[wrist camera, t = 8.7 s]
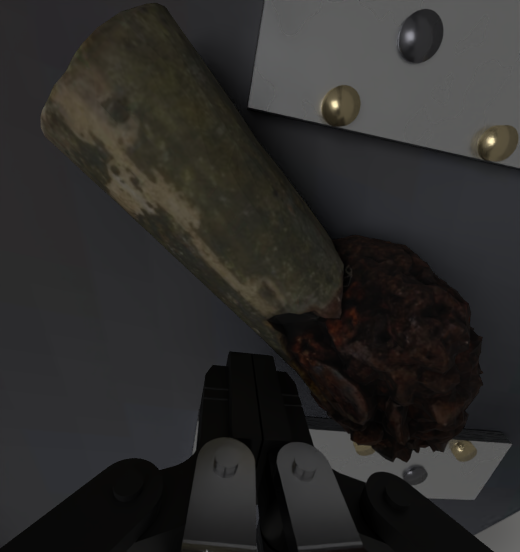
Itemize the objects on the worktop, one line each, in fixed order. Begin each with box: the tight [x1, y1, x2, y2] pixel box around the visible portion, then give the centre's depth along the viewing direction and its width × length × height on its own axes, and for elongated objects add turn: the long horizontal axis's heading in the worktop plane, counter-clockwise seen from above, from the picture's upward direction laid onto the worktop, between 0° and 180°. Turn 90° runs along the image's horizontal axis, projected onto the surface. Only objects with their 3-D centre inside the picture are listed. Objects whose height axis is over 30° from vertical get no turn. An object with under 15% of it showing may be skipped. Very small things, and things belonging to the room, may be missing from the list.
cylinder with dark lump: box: [41, 3, 483, 463], centre depth 11 cm, size 18×7×6 cm, turn 39°
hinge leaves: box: [192, 0, 520, 500], centre depth 15 cm, size 24×18×1 cm
